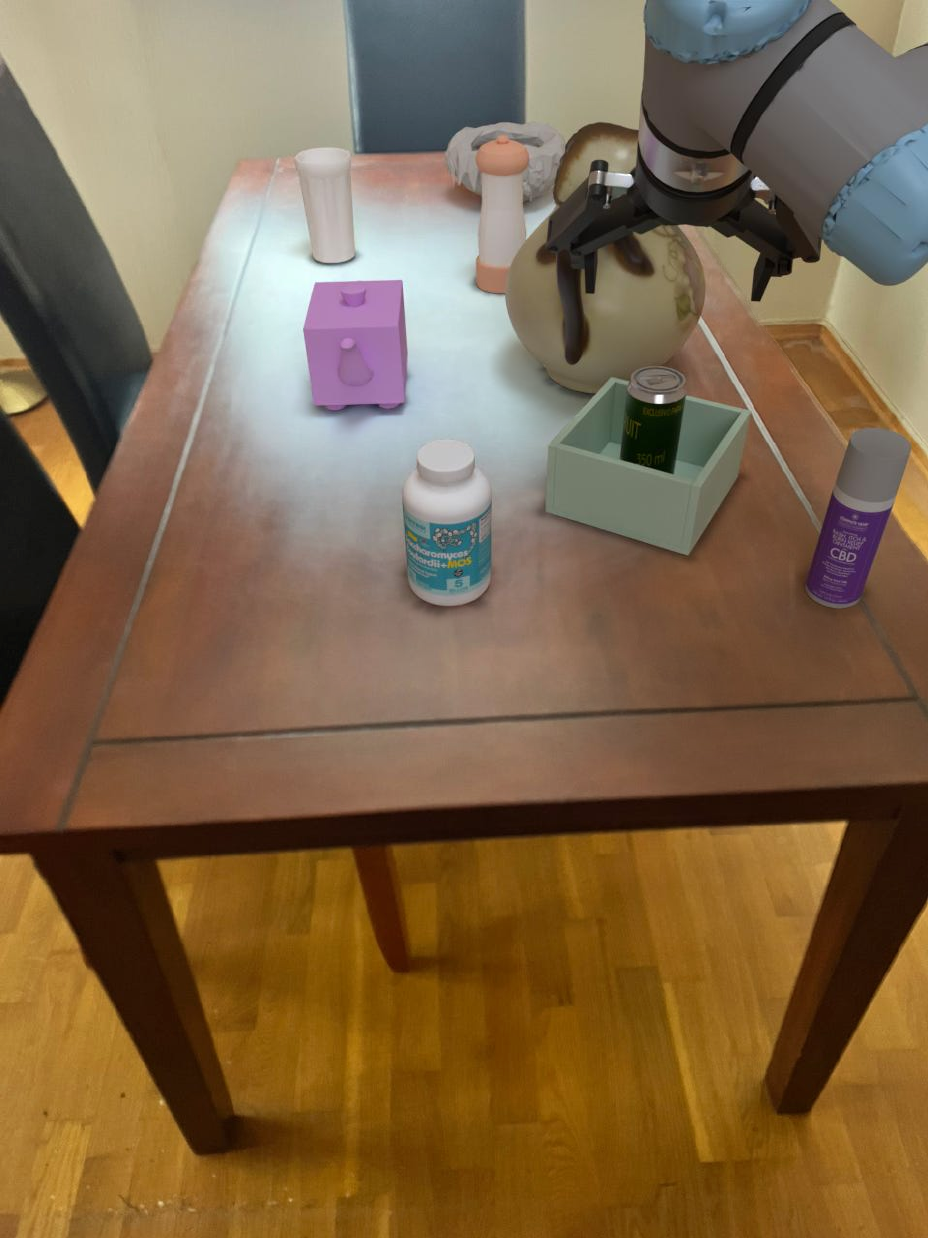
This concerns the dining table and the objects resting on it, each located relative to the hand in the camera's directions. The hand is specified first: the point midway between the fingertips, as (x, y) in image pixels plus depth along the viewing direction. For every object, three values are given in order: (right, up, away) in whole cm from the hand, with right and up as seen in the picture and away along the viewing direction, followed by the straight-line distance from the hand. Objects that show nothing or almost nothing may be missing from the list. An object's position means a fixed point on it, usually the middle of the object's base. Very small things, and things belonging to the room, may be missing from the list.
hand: (673, 281), depth 77 cm
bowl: (-10, +43, +80) cm, 92 cm away
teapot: (-29, -3, +31) cm, 42 cm away
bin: (0, -16, +15) cm, 22 cm away
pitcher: (-1, +1, +34) cm, 34 cm away
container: (+15, -26, +4) cm, 30 cm away
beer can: (0, -15, +15) cm, 21 cm away
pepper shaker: (-12, +19, +54) cm, 58 cm away
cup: (-37, +26, +62) cm, 77 cm away
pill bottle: (-19, -25, +6) cm, 32 cm away
